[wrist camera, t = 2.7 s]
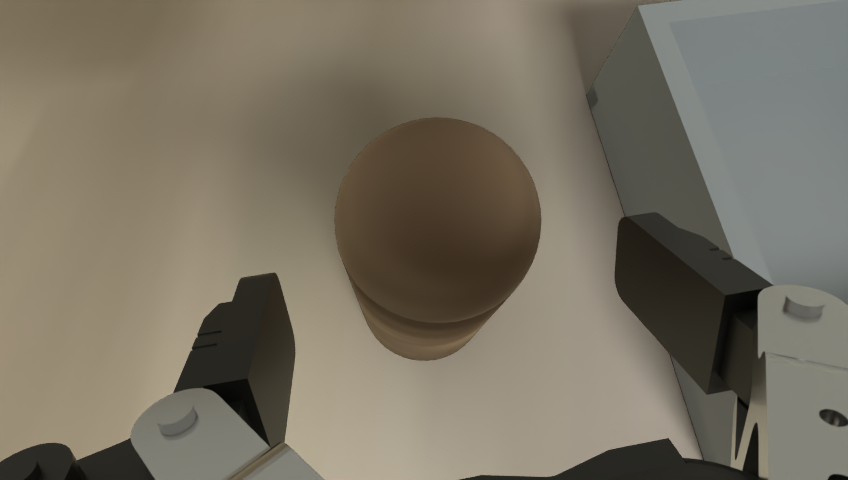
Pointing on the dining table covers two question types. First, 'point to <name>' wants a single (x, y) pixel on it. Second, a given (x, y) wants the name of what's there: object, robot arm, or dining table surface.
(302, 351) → the dining table surface
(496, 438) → the dining table surface
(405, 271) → the pepper mill
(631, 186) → the bin
